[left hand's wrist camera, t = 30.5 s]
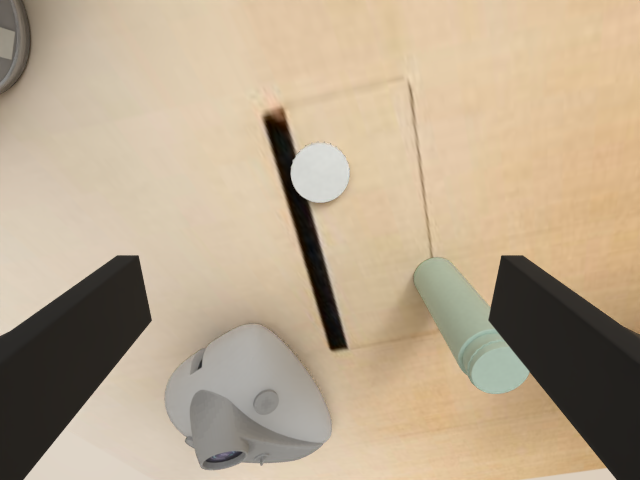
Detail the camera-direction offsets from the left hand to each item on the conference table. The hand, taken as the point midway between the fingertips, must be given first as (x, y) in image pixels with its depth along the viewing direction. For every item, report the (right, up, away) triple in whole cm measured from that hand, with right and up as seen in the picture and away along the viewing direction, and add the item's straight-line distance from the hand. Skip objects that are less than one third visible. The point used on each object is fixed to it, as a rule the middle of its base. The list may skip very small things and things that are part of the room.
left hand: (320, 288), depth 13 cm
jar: (+15, -3, +31) cm, 34 cm away
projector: (-8, -19, +37) cm, 42 cm away
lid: (0, +9, +24) cm, 26 cm away
